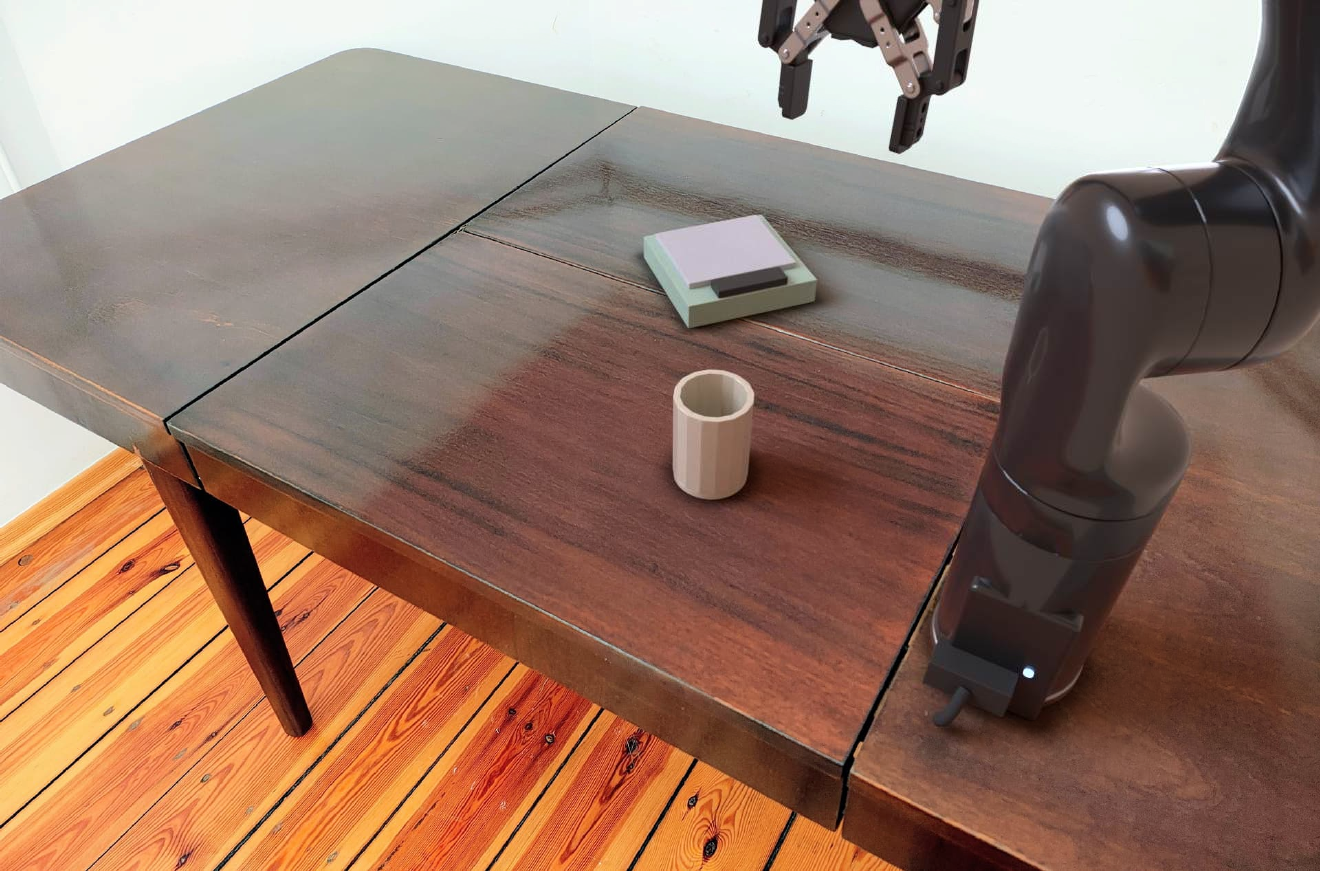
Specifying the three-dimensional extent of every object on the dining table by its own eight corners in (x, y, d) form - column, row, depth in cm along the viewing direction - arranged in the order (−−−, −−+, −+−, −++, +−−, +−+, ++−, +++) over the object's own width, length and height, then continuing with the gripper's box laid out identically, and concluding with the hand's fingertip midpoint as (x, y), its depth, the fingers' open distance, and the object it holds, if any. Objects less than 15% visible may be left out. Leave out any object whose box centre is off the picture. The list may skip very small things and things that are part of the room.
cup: (727, 510, 70) (732, 431, 64) (659, 483, 72) (659, 404, 66) (759, 462, 74) (767, 384, 68) (694, 438, 76) (697, 360, 70)
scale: (814, 301, 90) (818, 272, 87) (688, 328, 87) (688, 299, 84) (759, 235, 99) (762, 207, 96) (643, 257, 96) (643, 229, 93)
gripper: (748, -152, 55) (729, 120, 65) (972, -119, 48) (911, 180, 58) (818, -163, 59) (790, 93, 70) (1032, -135, 52) (966, 145, 63)
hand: (845, 132), depth 64 cm, fingers open, 8 cm apart
